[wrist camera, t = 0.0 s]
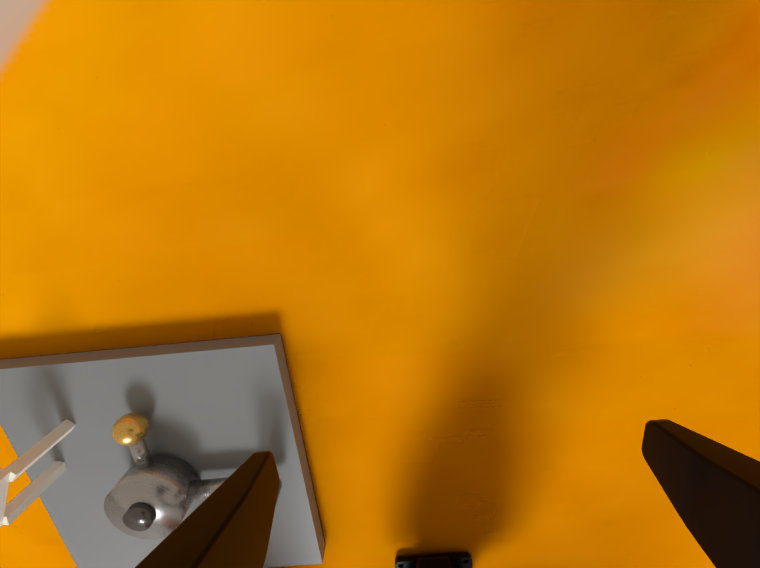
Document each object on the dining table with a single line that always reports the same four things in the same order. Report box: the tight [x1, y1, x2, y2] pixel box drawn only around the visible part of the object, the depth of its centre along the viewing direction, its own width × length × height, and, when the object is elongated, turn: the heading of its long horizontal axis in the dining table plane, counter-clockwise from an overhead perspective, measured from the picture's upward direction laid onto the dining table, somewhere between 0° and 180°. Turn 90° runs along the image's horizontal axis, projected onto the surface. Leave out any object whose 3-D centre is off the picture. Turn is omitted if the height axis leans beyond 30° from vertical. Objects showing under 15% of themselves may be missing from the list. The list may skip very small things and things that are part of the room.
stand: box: [0, 334, 325, 568], centre depth 24 cm, size 20×20×7 cm
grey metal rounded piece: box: [104, 412, 282, 540], centre depth 22 cm, size 9×11×6 cm
